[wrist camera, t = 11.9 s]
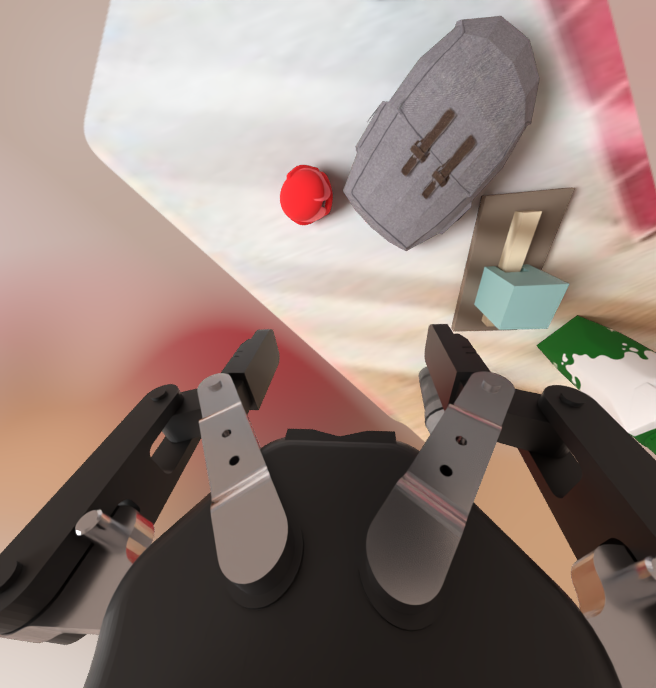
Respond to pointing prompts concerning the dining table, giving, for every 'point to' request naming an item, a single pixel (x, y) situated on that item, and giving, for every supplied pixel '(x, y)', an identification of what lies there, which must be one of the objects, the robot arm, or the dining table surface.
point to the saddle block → (519, 297)
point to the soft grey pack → (444, 131)
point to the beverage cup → (430, 400)
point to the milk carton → (609, 373)
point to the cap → (306, 195)
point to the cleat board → (495, 241)
